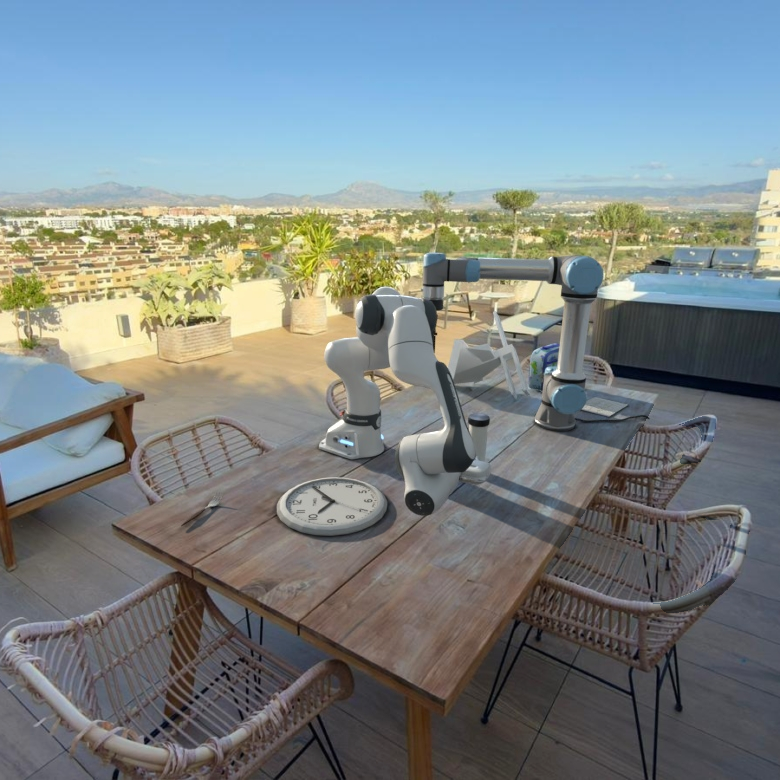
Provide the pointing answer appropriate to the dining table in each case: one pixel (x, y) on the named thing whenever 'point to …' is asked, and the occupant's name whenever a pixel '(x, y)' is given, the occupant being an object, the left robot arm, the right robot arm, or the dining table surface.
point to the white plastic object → (484, 361)
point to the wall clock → (331, 506)
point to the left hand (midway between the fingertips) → (458, 455)
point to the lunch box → (542, 364)
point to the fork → (211, 504)
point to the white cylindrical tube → (479, 440)
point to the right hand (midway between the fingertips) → (430, 357)
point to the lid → (479, 420)
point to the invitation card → (603, 406)
